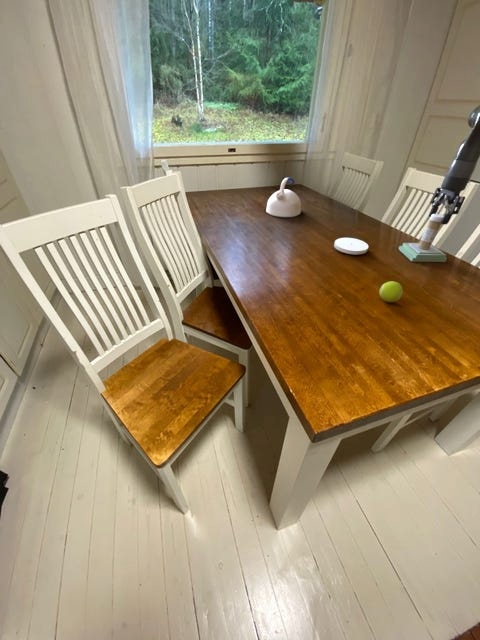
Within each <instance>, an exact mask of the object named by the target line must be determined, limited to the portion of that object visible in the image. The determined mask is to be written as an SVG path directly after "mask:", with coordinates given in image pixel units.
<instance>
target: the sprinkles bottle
mask: <svg viewBox="0 0 480 640" xmlns="http://www.w3.org/2000/svg"><path fill="white" fill-rule="evenodd" d="M444 215H445V214H440V213H436V214H432V215H431V217H430V218H429V220H428V223H427V225H426V227H425V230H424V232H423V234H422V235H421V238H420V241H419V242H418V243H419V245H418V247H419V248H421V249H426V250H427V249H430V246H431V244H432V245H433V243H434V241H435V238H436V237H437V234H438V232H439V230H440V227H441V226H442V224H441V221H442V219H443V217H444Z"/></svg>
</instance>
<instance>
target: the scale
mask: <svg viewBox="0 0 480 640" xmlns="http://www.w3.org/2000/svg"><path fill="white" fill-rule="evenodd" d="M409 243H410V242H403V243H402V245H399V246H398V250H399V251H400V252H401V254H403V255H404V256H405V257H406V258H407V259H408V260H409V261H410V262H411V263H417V262H418V263H446V262H447V260H448V258H447V254H445V253H444V252H443V251H442V250H440V249H439V248H437V247H436V246H435V245H434V244H433V243H432V244H431V245H432V246H433V247H434V248H435V249H437V250H438V251H439V252H441V254H418V253H417V252H416V251H415V250H414V249H413V248H411V247H410V246H409V245H408V244H409ZM412 243H413V244H419V243H420V242H412Z"/></svg>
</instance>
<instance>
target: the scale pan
mask: <svg viewBox="0 0 480 640" xmlns="http://www.w3.org/2000/svg"><path fill="white" fill-rule="evenodd" d="M408 243H409V244H408V245H409V246H410V247H411V248H413V249H414V250H415V251H416V252H417V253H418V254H441V252H442V251H441V252H439V251H438V250H437V249H438V248H437V249H435V248H434V247H433V246H434V245H433V244H432V245H433V246H432V245H431V246H430V249H427V250H426V249H421V248H419V247H418V245H419V244H413V243H414V242H408Z"/></svg>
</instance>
